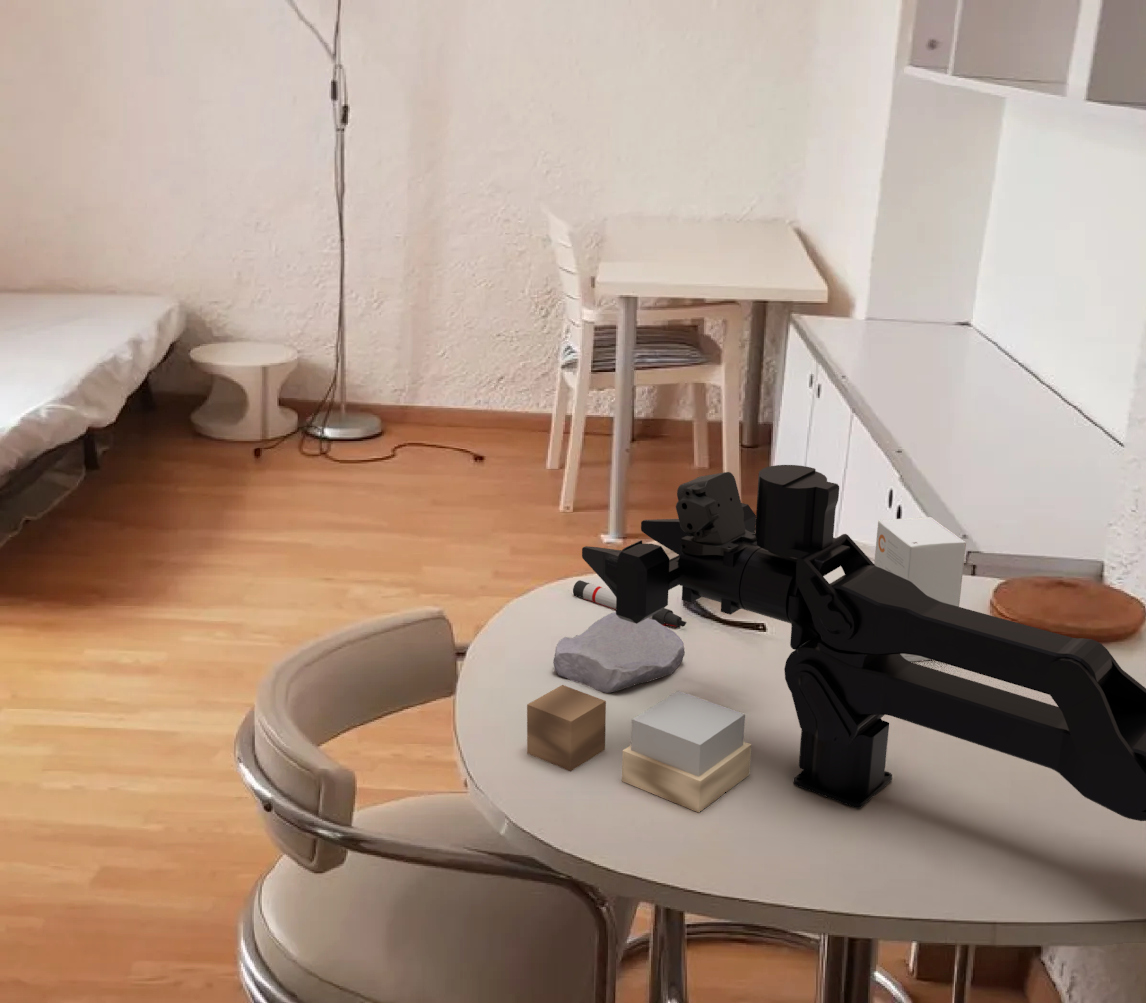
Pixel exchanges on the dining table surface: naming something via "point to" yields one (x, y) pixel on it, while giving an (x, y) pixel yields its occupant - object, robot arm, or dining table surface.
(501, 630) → the dining table surface
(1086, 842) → the dining table surface
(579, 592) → the marker
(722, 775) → the beech base block
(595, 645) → the stone block
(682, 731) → the grey block
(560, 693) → the walnut cube
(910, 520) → the small box
